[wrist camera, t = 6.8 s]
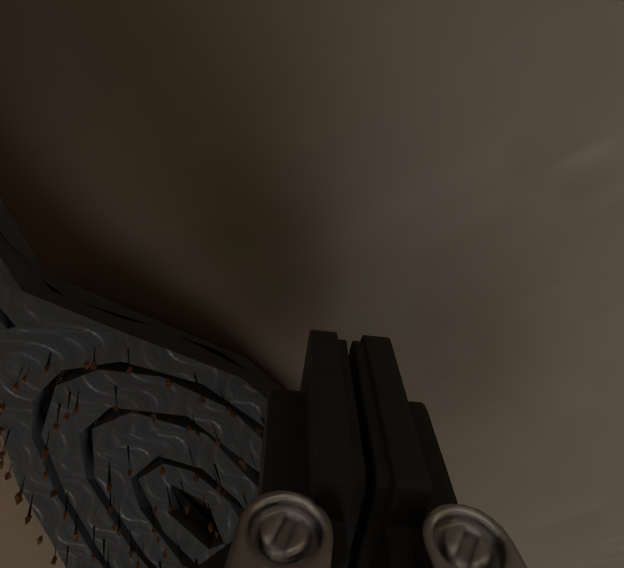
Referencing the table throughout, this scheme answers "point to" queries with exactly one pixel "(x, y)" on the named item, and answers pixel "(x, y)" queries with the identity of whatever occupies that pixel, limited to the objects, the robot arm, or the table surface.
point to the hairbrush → (121, 422)
